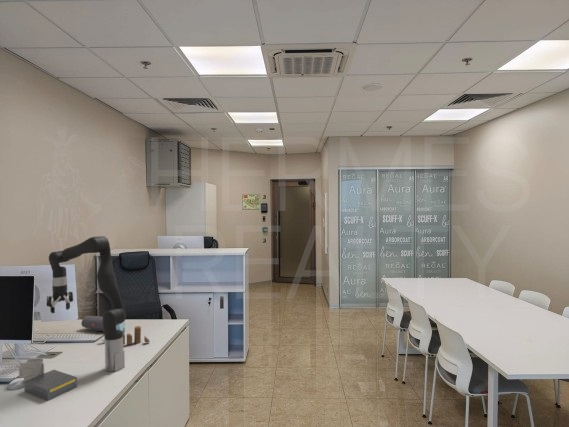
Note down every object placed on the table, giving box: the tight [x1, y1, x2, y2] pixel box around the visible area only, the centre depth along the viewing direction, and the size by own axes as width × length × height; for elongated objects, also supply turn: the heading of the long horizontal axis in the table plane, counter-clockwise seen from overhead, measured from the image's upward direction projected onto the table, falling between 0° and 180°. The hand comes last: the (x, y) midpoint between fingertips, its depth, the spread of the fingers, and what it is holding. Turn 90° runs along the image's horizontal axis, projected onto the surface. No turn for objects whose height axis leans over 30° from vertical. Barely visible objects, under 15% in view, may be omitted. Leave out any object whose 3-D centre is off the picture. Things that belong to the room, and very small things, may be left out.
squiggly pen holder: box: [103, 320, 126, 344], centre depth 244 cm, size 18×10×9 cm, turn 12°
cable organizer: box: [18, 357, 45, 382], centre depth 183 cm, size 6×11×11 cm, turn 96°
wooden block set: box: [123, 325, 150, 346], centre depth 231 cm, size 18×9×10 cm, turn 118°
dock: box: [23, 369, 78, 402], centre depth 174 cm, size 19×14×5 cm
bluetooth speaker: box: [81, 315, 103, 332], centre depth 260 cm, size 23×9×10 cm, turn 73°
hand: (60, 311), depth 212 cm, fingers open, 8 cm apart
